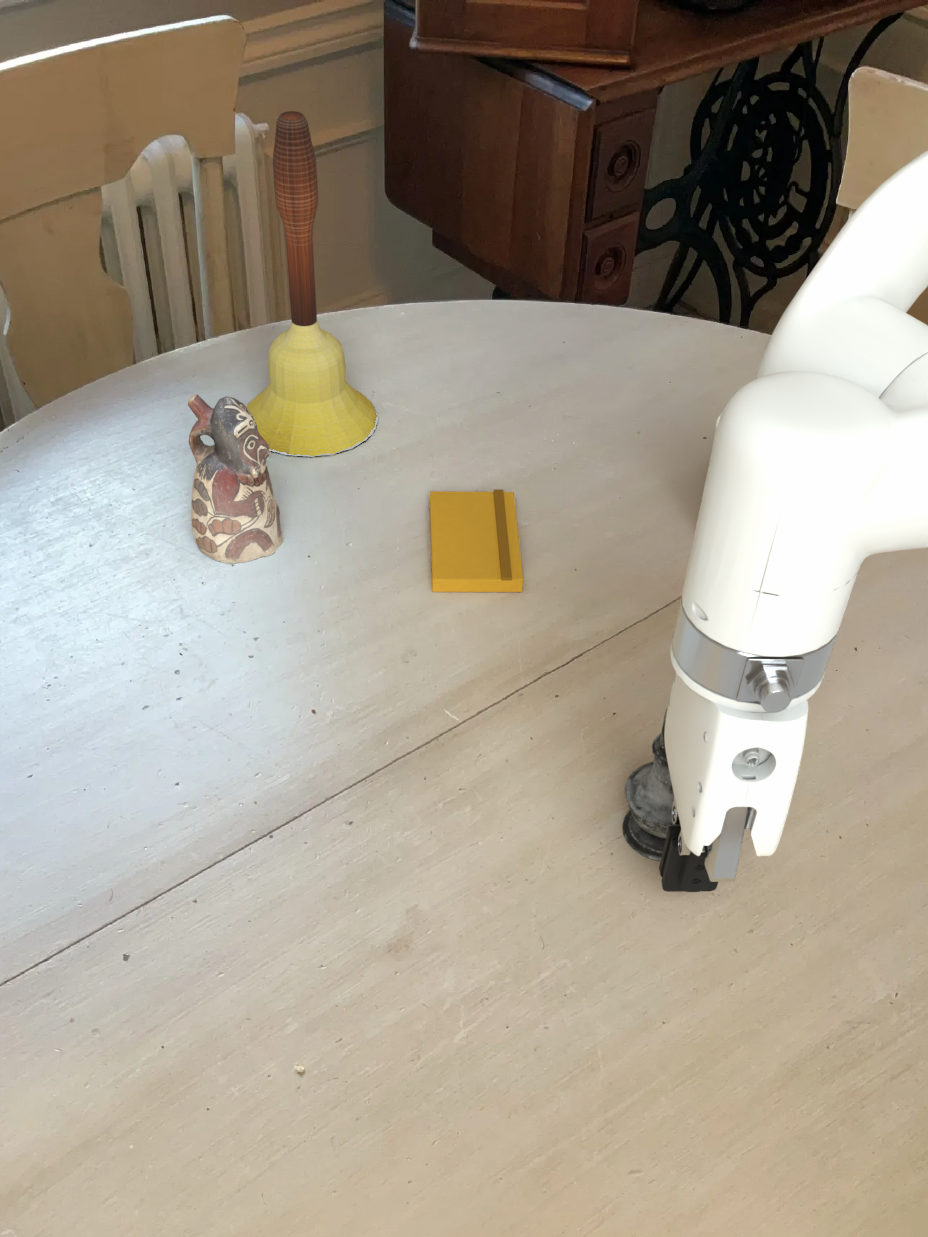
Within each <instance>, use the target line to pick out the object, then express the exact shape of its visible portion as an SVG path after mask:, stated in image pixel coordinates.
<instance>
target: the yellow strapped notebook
mask: <svg viewBox="0 0 928 1237" xmlns="http://www.w3.org/2000/svg"><path fill="white" fill-rule="evenodd" d="M429 530H430V531H429V532H430V534H429V536H430V560H431V561H430V562H431V563H430V564H431V565H430V566H431V590H432V591H431V592H432V593H523V590H524V589H523V588H524V573H523V564H522V563H523V562H522V554H521V547H520V536H519V529H518V519H517V512H516V502H515V491H504V489H493V491H448V490H447V491H444V490H442V491H440V490H439V491H438V490H437V491H436V490H435V491H431V490H430V491H429Z"/></svg>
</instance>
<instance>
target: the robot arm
mask: <svg viewBox="0 0 928 1237" xmlns="http://www.w3.org/2000/svg"><path fill="white" fill-rule="evenodd" d="M927 288H928V149H927V150H925V151H924V152H922V153H920V154H919V155H917V156H916V157H915V158H913V159H912V160H911V161H909V162H908V163H906V164H905V165H904V166H902V167H901V168H899V169H898V170H897V171H895V173H893V174H892V175H891V176H889V177H888V178H887V179H886V180H885V181H883V182H882V183H881V184H880V185H879V186H877V187H876V189H874V191H873V192H872V193H870V194H869V195H868V197H866V199H864V201H863V202H862V203H861V204H860V205H859V206H858V208H857V209H856V210H855V211H854V212H853V213H852V215H851V216H850V217H849V218H848V220H846V222H845V224H844V225H842V227H841V228H840V231H839V232H838V233H837V234H836V236H835V237H834V239H833V240H832V241H831V243H830V244H829V246H828V247H827V249H826V250H825V252H824V253H823V254H822V256H821V257H820V259H819V260H818V261H817V263H816V264H815V266H814V267H813V268H812V270H811V271H810V273H809V275H808V276H807V277H806V278H805V280H804V282H802V284H801V286H800V287H799V289H798V290H797V292H796V293H795V295H794V296H793V298H792V299H791V301H790V302H789V304H788V305H787V306H786V308H785V310H784V311H783V313H782V315H781V317H780V318H779V320H778V322H777V324H776V326H775V328H774V329H773V331H772V333H771V335H770V337H769V339H768V341H767V343H766V345H765V348H764V351H763V353H762V356H761V359H760V361H759V366H758V368H757V373H756V378H755V379H752V380H751V381H749V382H747V383H746V384H743V386H741V387H740V388H739V389H737V391H736V392H734V393H733V395H732V396H731V397H730V398H729V399H728V401H727V403H726V404H725V406H724V408H723V410H722V412H721V413H720V415H721V416H720V415H719V416H720V419H719V423H718V426H717V430H716V434H715V433H714V435H715V437H713V441H714V442H712V448H711V452H710V457H709V462H708V466H707V472H706V476H705V481H704V485H703V486H704V487H703V492H702V496H701V501H700V506H699V511H698V514H697V515H698V516H697V520H696V525H695V530H694V533H693V534H694V535H693V539H692V544H691V549H690V553H689V557H688V563H687V567H686V572H685V576H684V582H683V587H682V591H681V595H680V599H679V604H678V608H677V614H676V619H675V623H674V629H673V633H672V639H671V644H670V647H669V658H670V662H671V666H672V668H673V669H674V671H675V673H674V674H675V675H674V679H673V682H672V686H671V690H670V694H669V697H668V698H669V699H668V704H667V707H668V708H667V707H666V709H667V714H666V721H665V730H664V739H665V749H666V756H667V761H668V767H669V772H670V777H671V782H672V787H673V792H674V800H673V805H672V822H673V824H679V826H669V828H668V832H667V836H666V840H665V844H664V848H663V853H662V857H661V861H659V866H658V869H659V870H658V871H659V875H660V877H662V878H661V886H662V890H663V891H664V892H668V893H669V892H671V893H673V892H675V893H677V892H679V893H680V892H681V893H683V892H686V893H701V892H713V891H715V890H716V889H717V888H718V885H719V883H721V882H722V883H727V882H728V883H730V882H732V883H734V882H735V881H736V876H737V871H738V866H739V860H740V855H741V850H742V846H743V839H744V834H745V830H749V832H750V836H751V837H750V838H751V840H752V843H753V847H754V851H755V855H756V857H771V856H772V855H773V854H774V853H775V852H776V851H777V849H778V847H779V845H780V841H781V839H782V836H783V832H784V829H785V825H786V822H787V818H788V816H789V811H790V807H791V804H792V800H793V796H794V792H795V788H796V784H797V780H798V776H799V772H800V768H801V763H802V758H803V754H804V747H805V740H806V735H807V726H808V719H809V718H808V717H809V699H810V698H811V697H813V696H814V695H815V693H816V692H817V691H818V690H819V688H820V686H821V684H822V682H823V679H824V676H825V673H826V670H827V667H828V665H829V661H830V658H831V655H832V651H833V649H834V646H835V643H836V640H837V637H838V634H839V632H840V628H841V625H842V622H843V619H844V616H845V612H846V610H847V607H848V604H849V601H850V598H851V594H852V592H853V589H854V586H855V583H856V580H857V578H858V574H859V570H860V568H861V567H862V566H861V565H862V563H863V562H864V561H865V559H867V558H868V557H869V556H872V555H876V554H882V553H890V552H898V551H900V552H901V551H907V550H917V549H918V550H919V549H926V548H928V324H926V323H924V322H922V320H919V319H917V318H915V317H914V316H912V315H911V314H908V313H907V312H908V311H909V310H910V309H911V307H912V306H913V305H914V303H915V302H916V301H917V299H918V298H919V297H920V295H922V294H923V292H924V291H925V290H926V289H927Z"/></svg>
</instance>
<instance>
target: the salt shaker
mask: <svg viewBox="0 0 928 1237" xmlns="http://www.w3.org/2000/svg"><path fill="white" fill-rule="evenodd" d="M667 708H668V706H667V707H666V709H665V713H664V718H663V723H662V728H661V732H660V733H659V734H657V735H656V737H655V738H654V739H653V741H652V744H651V752H652V755H653V756H654V759H653V761H650V762H647V763H644V764H642V765H640V766H638V767H637V768H636V769H634V770H632V772H631V773H630V775H629V776H628V777H627V779H626V783H625V787H624V794H625V799H626V801H627V804H628V807H629V810H628V812H627V813H626V815H625V816H624V818H623V822H622V834H623V837H624V839H625V841H626V843H627V844H628V845H629V846H630V847H631V849H633V850H634V851H635V852H636V853H638V854H639V855H640V856H642V857H645V858H647V859H650V860H654V861H657V862H660V861H661V857H662V853H663V848H664V844H665V840H666V836H667V832H668V828H669V826H679V824H673V822H672V805H673V800H674V792H673V787H672V782H671V777H670V772H669V767H668V761H667V756H666V749H665V739H664V730H665V721H666V714H667Z"/></svg>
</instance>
